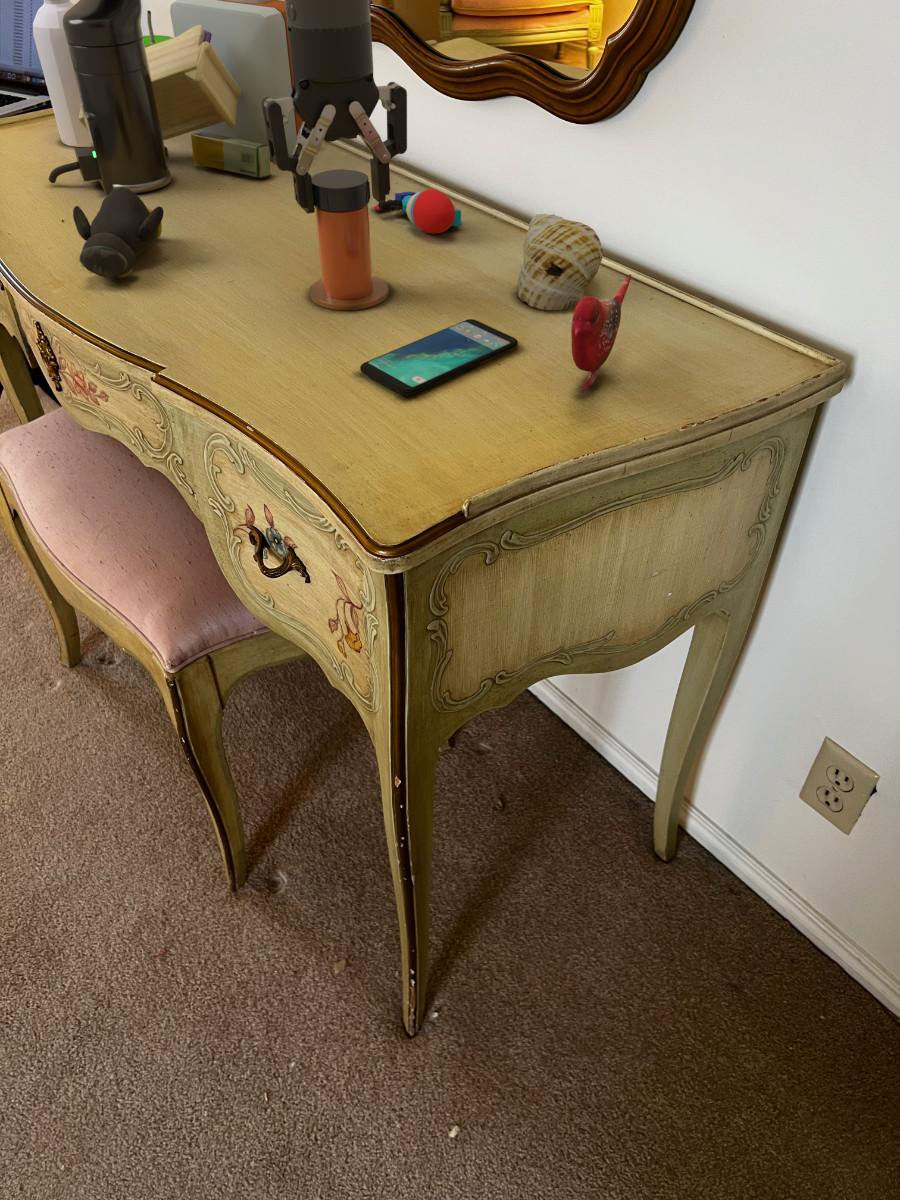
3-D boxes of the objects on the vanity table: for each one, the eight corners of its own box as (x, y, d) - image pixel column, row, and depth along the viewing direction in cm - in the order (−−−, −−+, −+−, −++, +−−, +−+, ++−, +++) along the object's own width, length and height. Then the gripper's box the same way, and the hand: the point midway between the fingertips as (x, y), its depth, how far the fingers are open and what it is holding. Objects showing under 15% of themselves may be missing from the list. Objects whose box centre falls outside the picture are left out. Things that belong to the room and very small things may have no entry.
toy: (100, 238, 112) (60, 289, 101) (84, 176, 108) (40, 223, 97) (183, 238, 112) (152, 290, 101) (171, 176, 108) (137, 223, 96)
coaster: (324, 316, 96) (324, 310, 96) (301, 285, 102) (300, 280, 102) (399, 302, 99) (399, 296, 98) (372, 272, 104) (372, 267, 104)
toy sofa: (240, 127, 128) (245, 71, 131) (205, 76, 120) (210, 18, 124) (114, 167, 134) (121, 113, 138) (73, 121, 126) (81, 65, 130)
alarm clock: (322, 147, 138) (308, -16, 125) (284, 162, 133) (265, -6, 119) (230, 128, 146) (207, -28, 132) (190, 142, 140) (162, -19, 127)
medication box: (272, 175, 129) (271, 144, 127) (260, 179, 127) (258, 147, 125) (204, 160, 133) (201, 130, 131) (191, 163, 131) (188, 132, 129)
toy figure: (369, 223, 120) (421, 241, 109) (367, 181, 117) (420, 195, 106) (421, 217, 123) (477, 235, 112) (420, 177, 120) (477, 190, 109)
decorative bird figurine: (551, 415, 82) (560, 306, 75) (609, 331, 94) (621, 231, 87) (583, 421, 81) (595, 313, 74) (637, 336, 93) (651, 236, 86)
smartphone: (521, 340, 90) (405, 392, 83) (521, 347, 91) (406, 400, 83) (470, 316, 94) (355, 364, 87) (470, 323, 95) (356, 372, 87)
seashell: (551, 315, 95) (527, 213, 91) (507, 322, 103) (484, 229, 100) (631, 289, 98) (611, 190, 95) (582, 299, 106) (562, 208, 103)
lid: (322, 214, 91) (320, 191, 89) (305, 196, 95) (302, 173, 93) (378, 206, 93) (376, 183, 91) (358, 188, 97) (357, 166, 95)
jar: (332, 303, 97) (322, 195, 90) (316, 283, 101) (305, 178, 94) (380, 294, 99) (374, 187, 91) (363, 275, 102) (356, 171, 95)
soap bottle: (45, 143, 141) (-8, -46, 125) (92, 128, 147) (48, -55, 131) (84, 152, 137) (36, -41, 121) (131, 136, 143) (91, -50, 127)
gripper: (388, 2, 88) (396, 184, 99) (239, 15, 84) (265, 204, 95) (418, 16, 83) (423, 206, 94) (261, 31, 78) (286, 228, 89)
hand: (344, 205), depth 94 cm, fingers open, 7 cm apart
